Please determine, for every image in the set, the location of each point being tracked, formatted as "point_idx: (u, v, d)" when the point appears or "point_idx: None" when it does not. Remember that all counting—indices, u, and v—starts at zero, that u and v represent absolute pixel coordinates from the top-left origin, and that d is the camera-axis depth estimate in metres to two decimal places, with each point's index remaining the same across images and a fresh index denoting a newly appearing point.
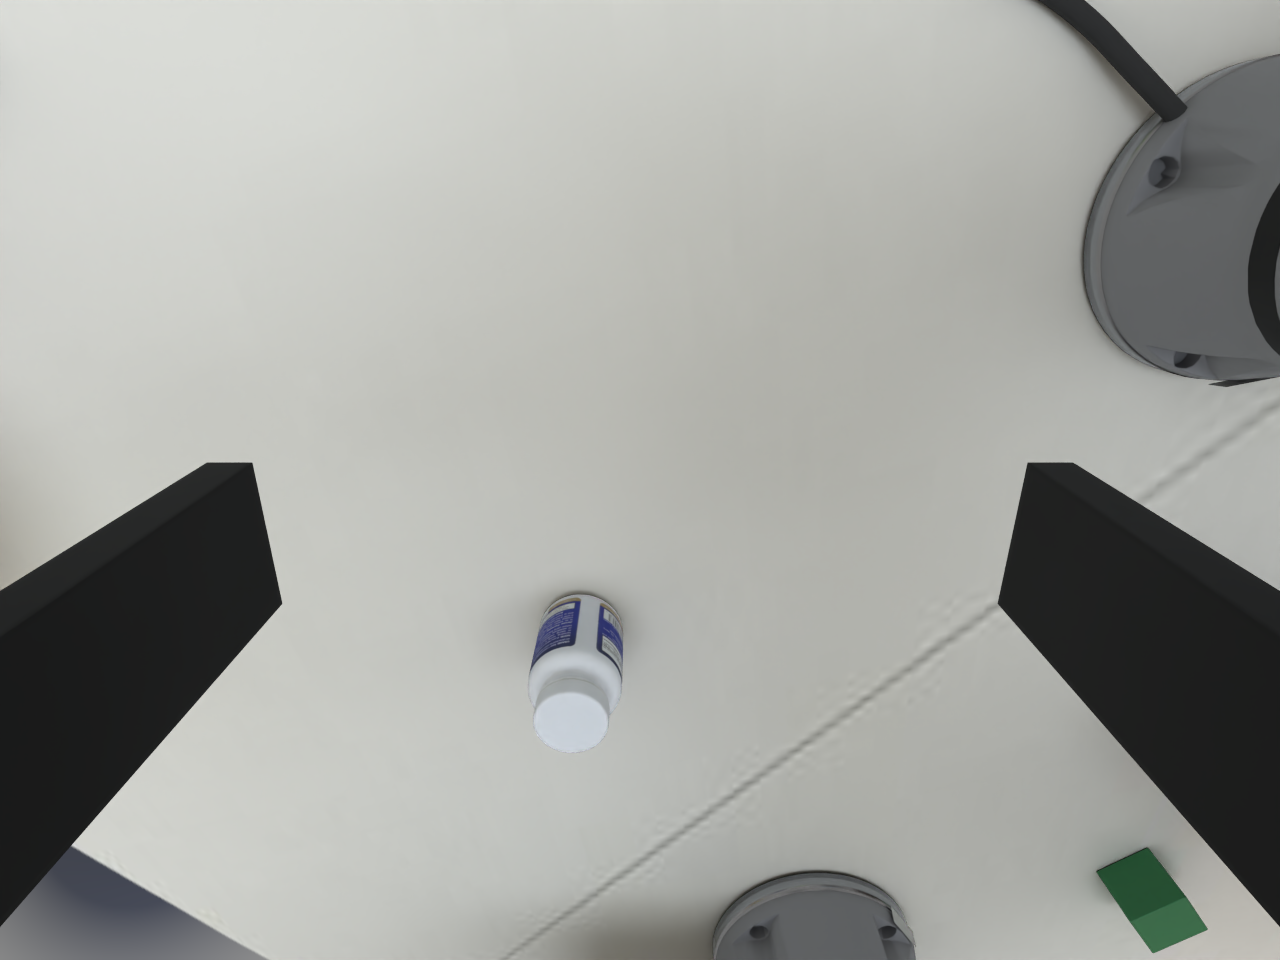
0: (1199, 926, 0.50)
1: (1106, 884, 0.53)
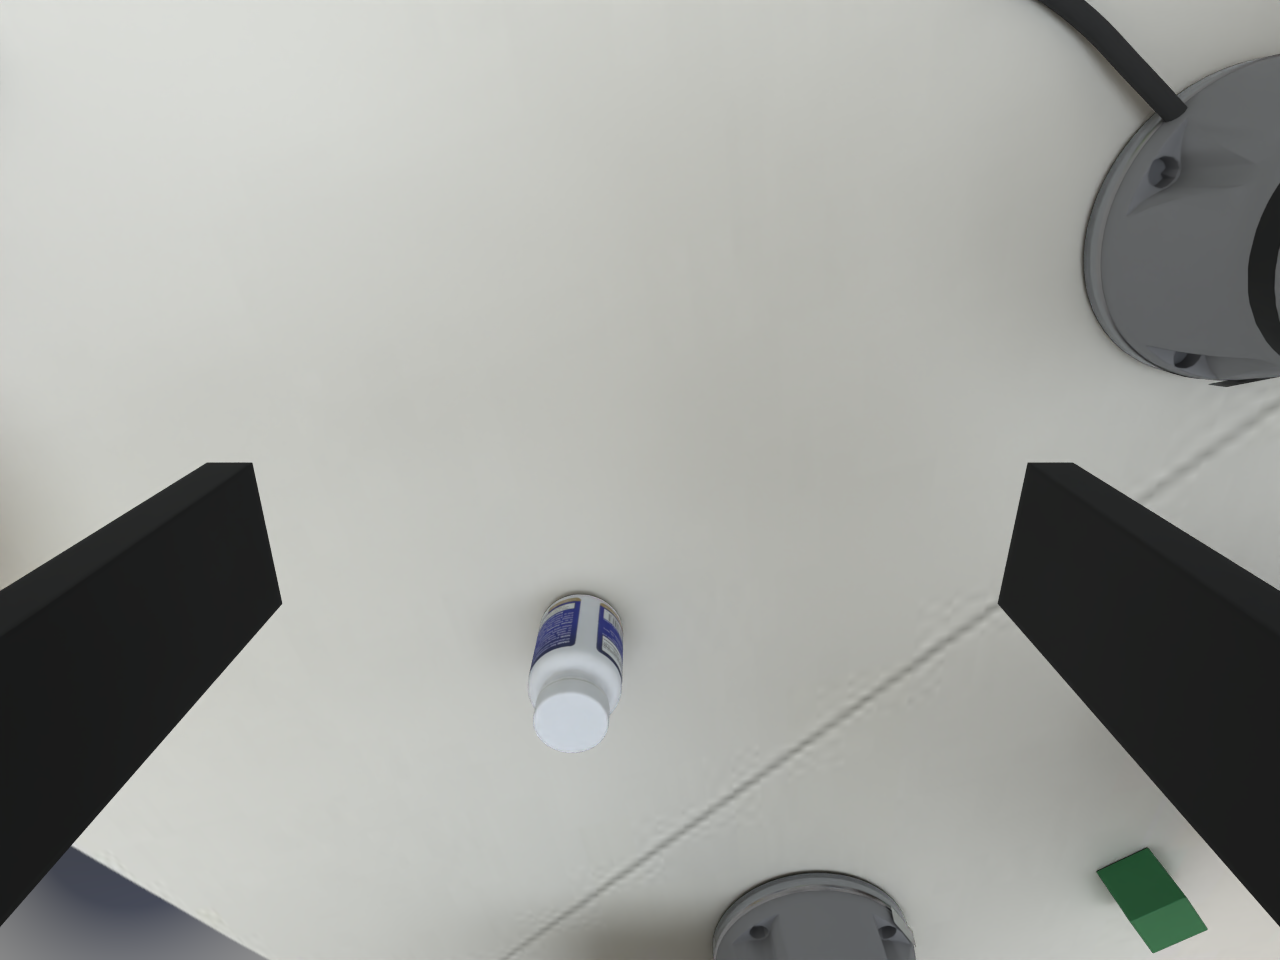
0: (1199, 926, 0.50)
1: (1106, 884, 0.53)
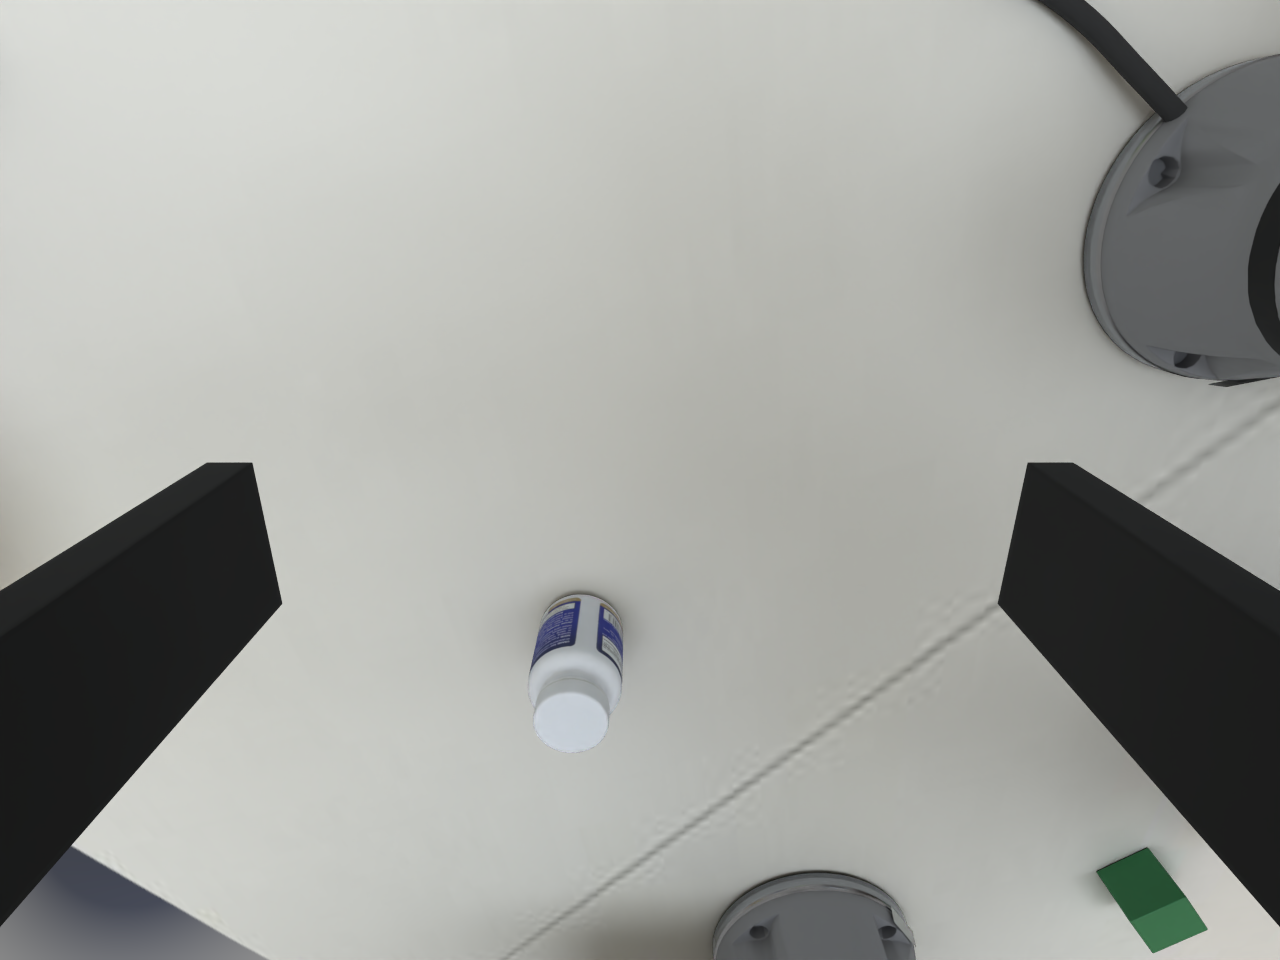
0: (1199, 926, 0.50)
1: (1106, 884, 0.53)
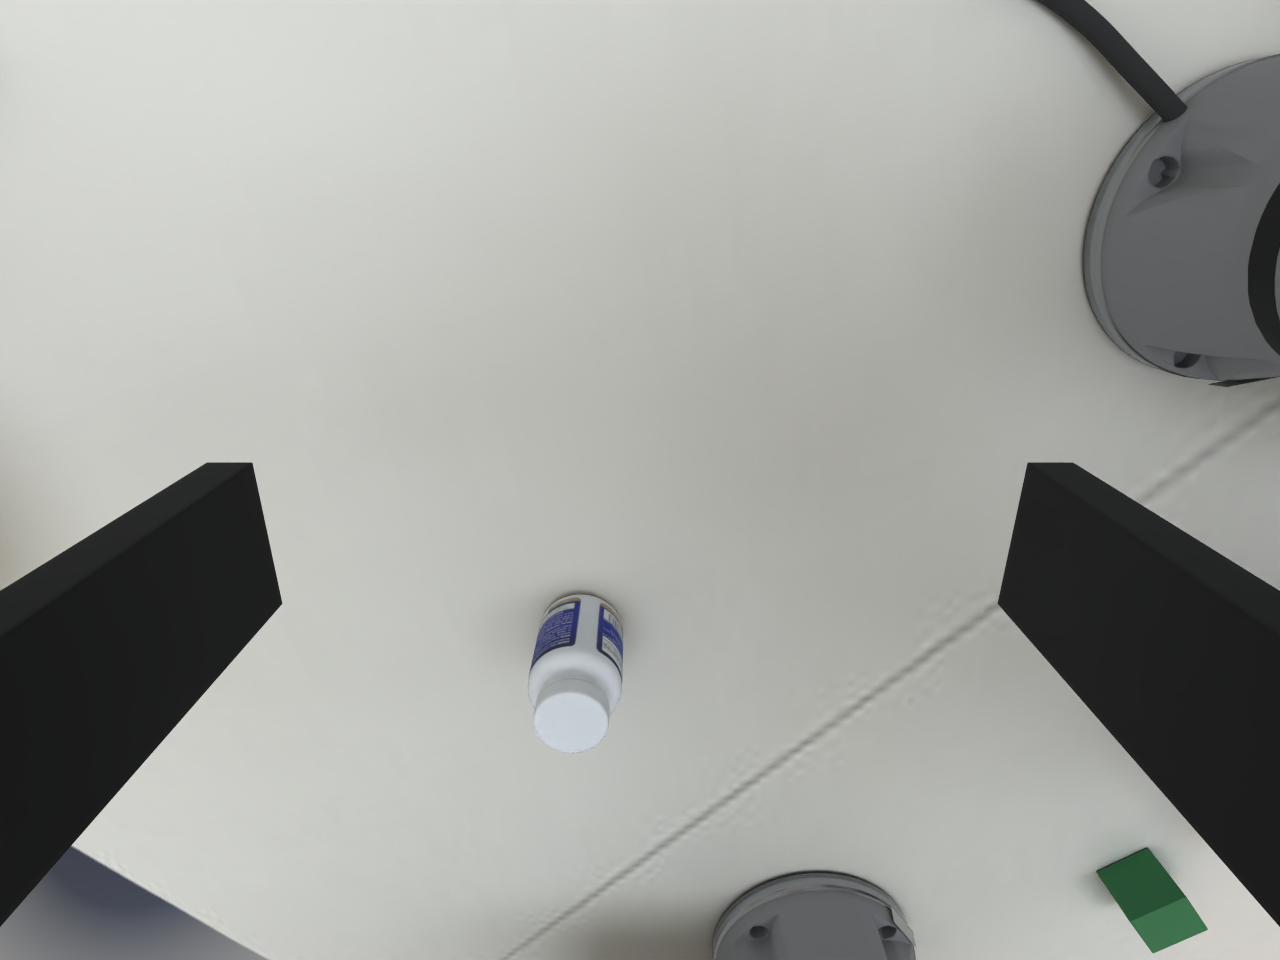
0: (1199, 926, 0.50)
1: (1106, 884, 0.53)
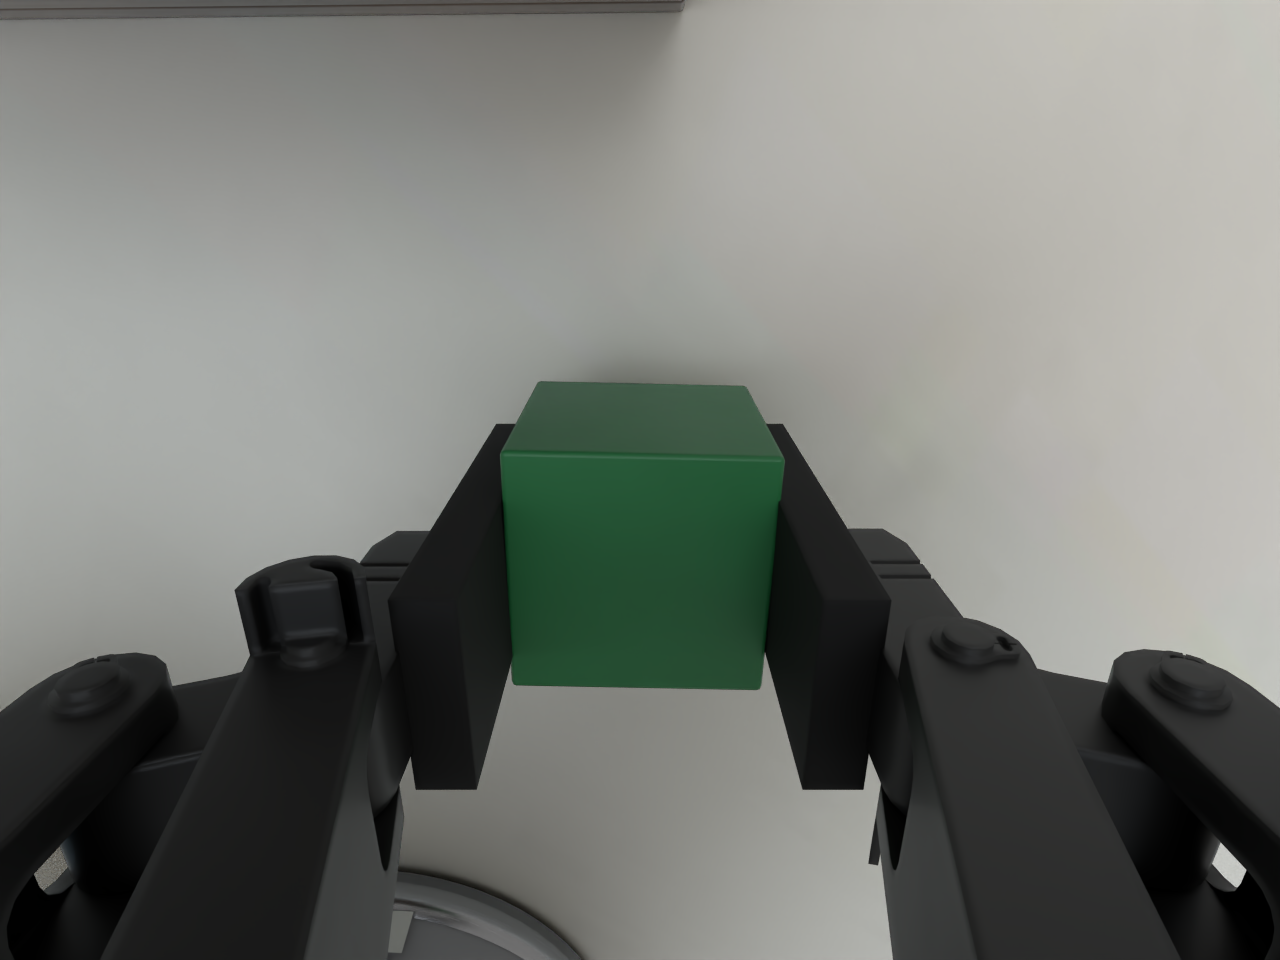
0: (735, 482, 0.10)
1: None
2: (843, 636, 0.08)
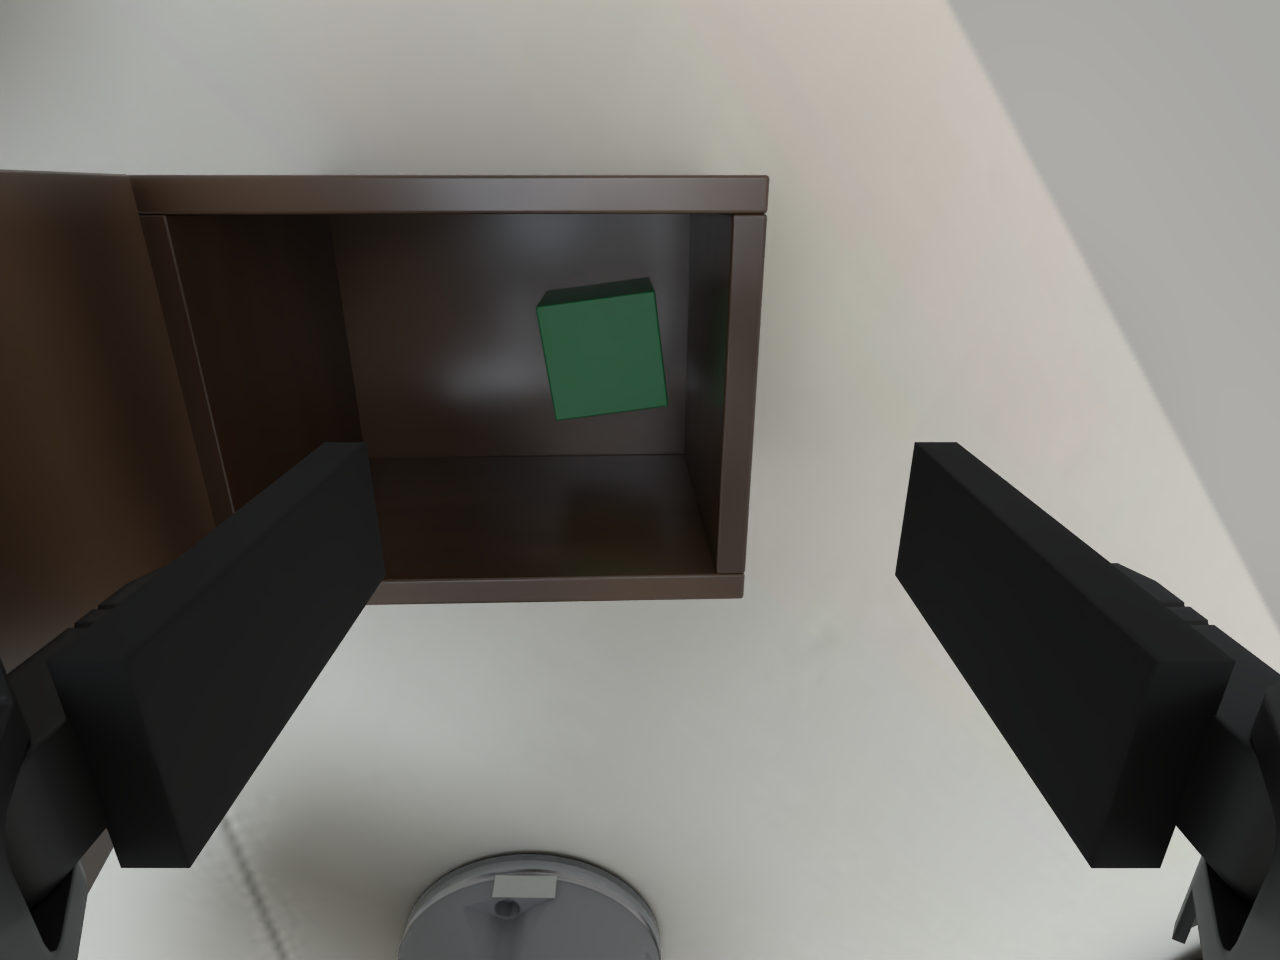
0: (636, 305, 0.24)
1: None
2: (1171, 701, 0.07)
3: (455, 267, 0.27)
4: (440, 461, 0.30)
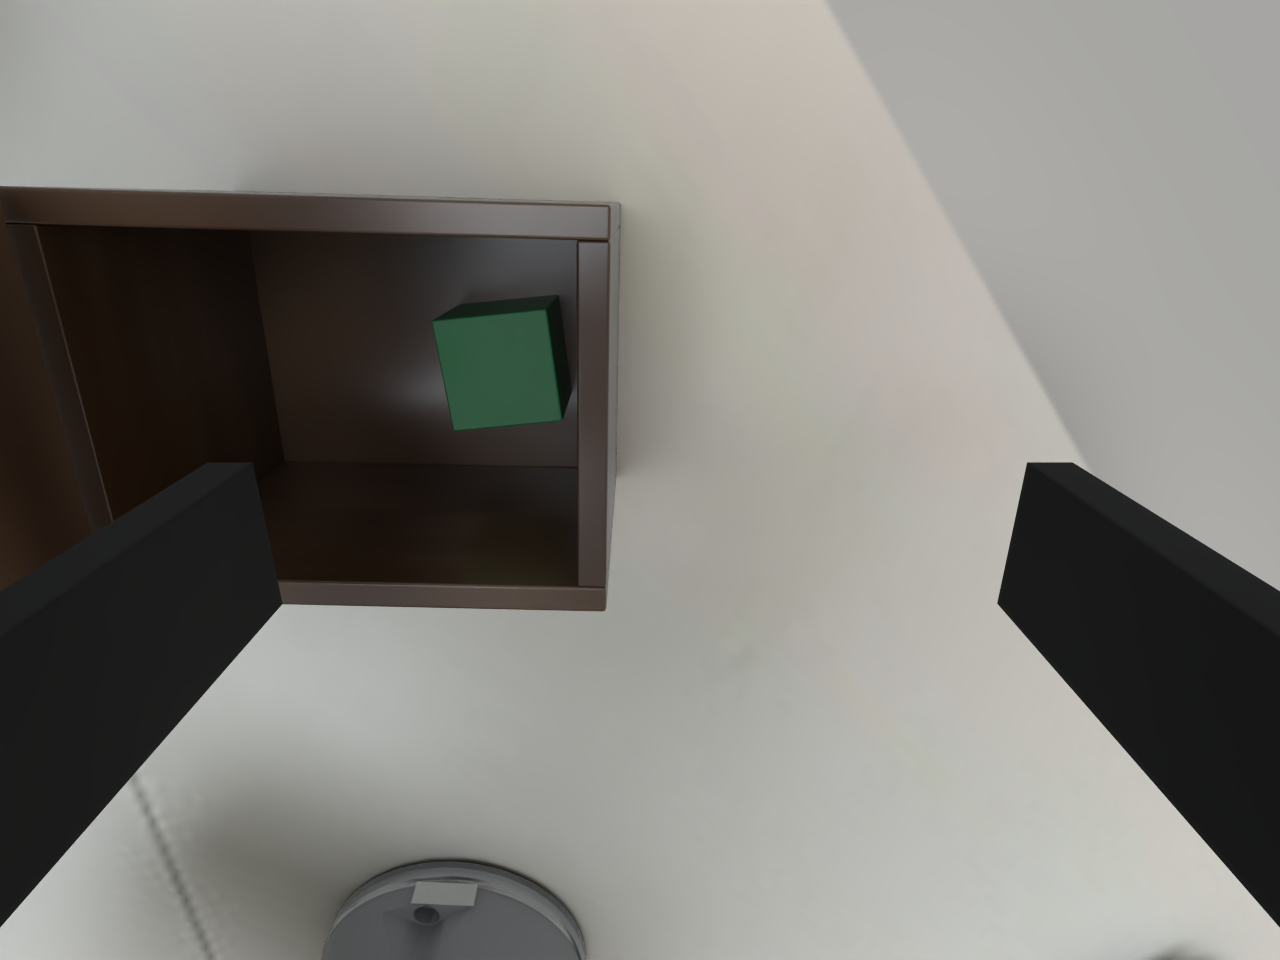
0: (528, 321, 0.25)
1: None
2: None
3: (369, 279, 0.28)
4: (355, 466, 0.31)
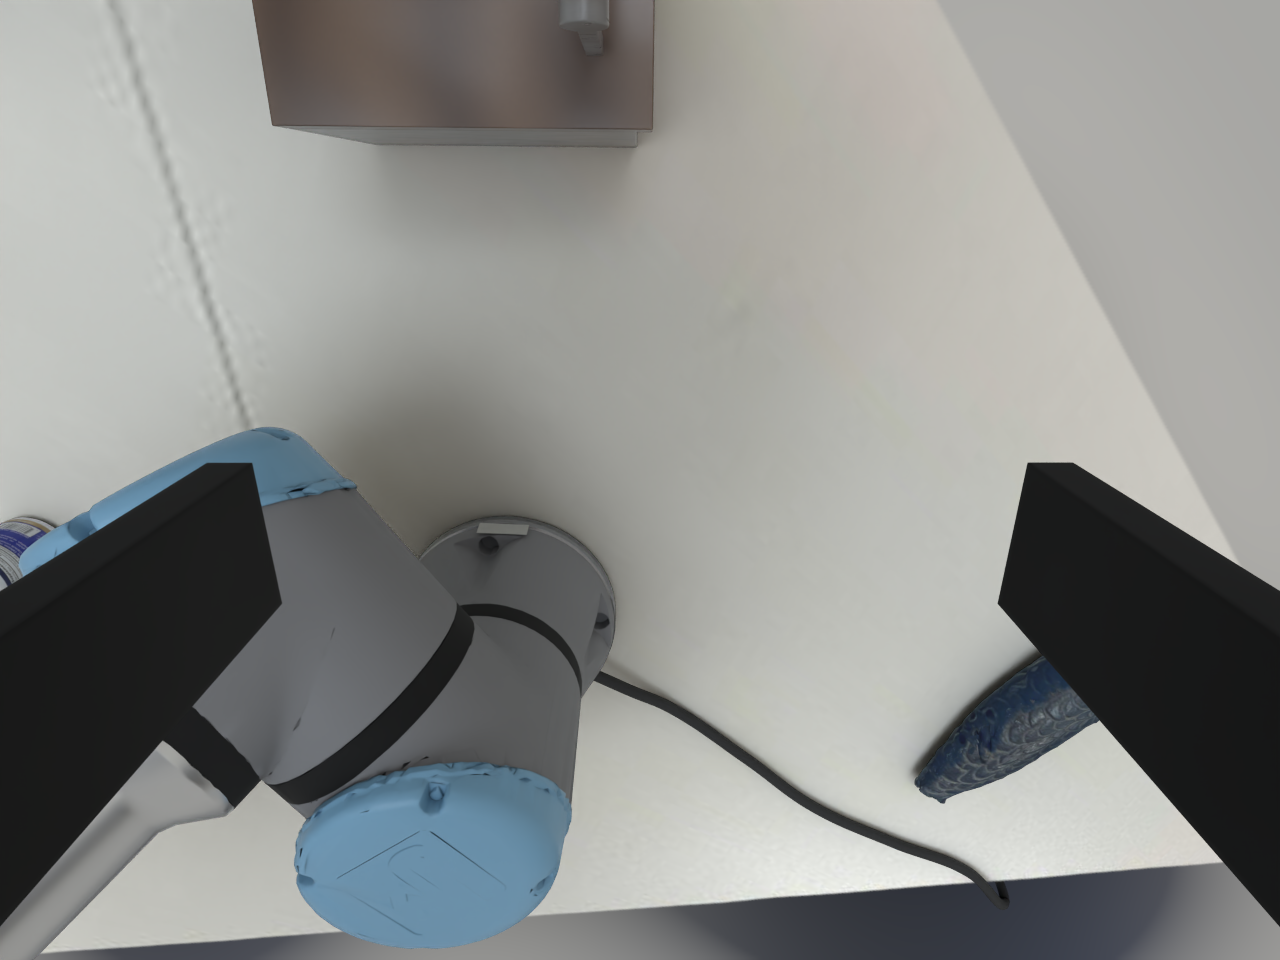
0: None
1: None
2: None
3: None
4: None
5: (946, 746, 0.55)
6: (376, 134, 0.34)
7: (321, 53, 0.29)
